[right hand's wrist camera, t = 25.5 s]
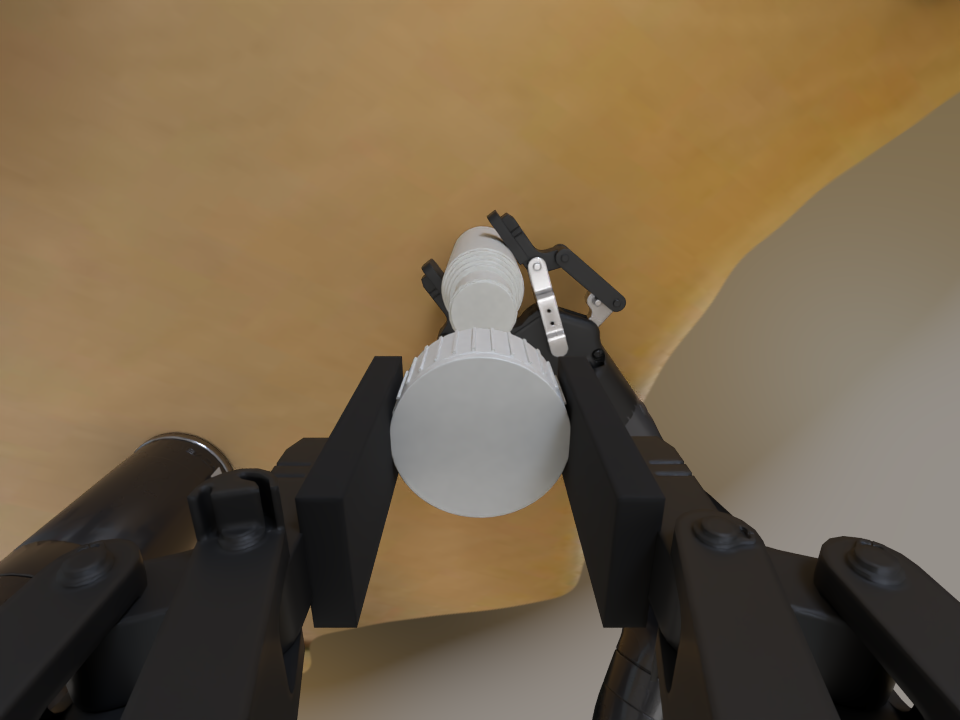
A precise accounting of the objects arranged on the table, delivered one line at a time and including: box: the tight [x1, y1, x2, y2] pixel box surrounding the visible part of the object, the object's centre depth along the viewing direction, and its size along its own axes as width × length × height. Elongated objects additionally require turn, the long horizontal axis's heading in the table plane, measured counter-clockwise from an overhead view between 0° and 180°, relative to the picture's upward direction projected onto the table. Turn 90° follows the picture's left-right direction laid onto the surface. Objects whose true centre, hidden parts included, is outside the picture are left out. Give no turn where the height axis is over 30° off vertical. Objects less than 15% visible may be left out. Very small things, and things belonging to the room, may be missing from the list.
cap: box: [390, 327, 571, 518], centre depth 13 cm, size 4×5×2 cm
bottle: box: [441, 226, 524, 332], centre depth 33 cm, size 5×5×17 cm
